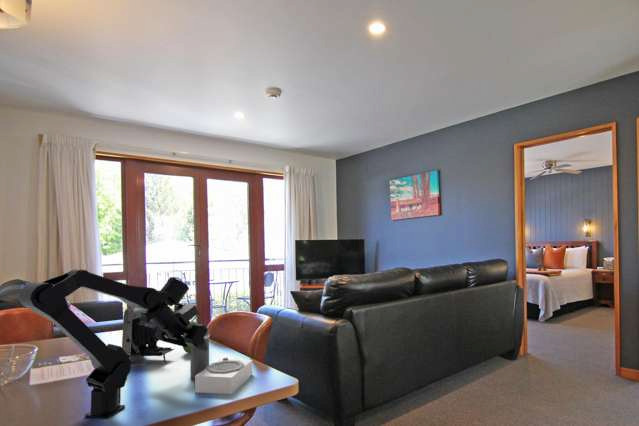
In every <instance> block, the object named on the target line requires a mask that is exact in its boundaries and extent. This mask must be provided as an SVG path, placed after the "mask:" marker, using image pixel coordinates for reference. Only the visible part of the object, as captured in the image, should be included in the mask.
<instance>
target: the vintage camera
mask: <svg viewBox="0 0 639 426" xmlns="http://www.w3.org/2000/svg"><path fill="white" fill-rule="evenodd" d="M146 310H147V309H143V308H135V307H132V306H129V307H127V308H126V309H125V310H124V311H123V320H122V336H121V337H122V338H121V342H122V343H121V347H122V348H123V350H124V351H125V353H126V354H128V355H131V357H129V359H130V360H131V361H132V363H134V362H136V361H137V360H138V361H139V360H140V359H143V358H144V357H163V363H166V354H168V353H171V352H172V351H174V350H175V348H172V347H163V346H159V345H157V344H158V342H160V340H158V339H157V338H156V337H155V332H156V330H157V327H158V326H157V325H156V324H155V323H154V322H153V321H152V320H151V321H150V322H149V323H145V322H141V321H140V318H141V313H142V312H145V311H146Z"/></svg>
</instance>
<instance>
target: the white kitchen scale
mask: <svg viewBox="0 0 639 426" xmlns="http://www.w3.org/2000/svg"><path fill="white" fill-rule="evenodd" d="M253 371H254V370H253V359H239V358H238V359H237V358H236V359H235V358H231V359H230V358H229V357H223V358H220V359H218V360H216V361H215V362H211V364H210V363H209V366H207V367H206V369H204V370H203V371H202V372H200V373H199V374H197V375H196V376H195V380H194V393H198V394H199V393H201V394H216V393H217V394H218V395H219V394H220V395H221V394H222V395H233V394H234V393H235V392H236V391H237V390H238V389H239V388H240V387H241V386H242V385H243V384H244V383H245V382H247V381H248V380H249V379H250V378H251V377H252V376H253V375H252V374H253V373H254V372H253ZM251 375H252V376H251ZM250 376H251V377H250Z"/></svg>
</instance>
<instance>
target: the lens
mask: <svg viewBox="0 0 639 426" xmlns="http://www.w3.org/2000/svg"><path fill="white" fill-rule="evenodd" d="M210 336H211V334H210V330H209V329H208V331H207V333H206V334H205V336H204V339H205V342H206V345H207V347H208V349H207V350H206V351H203V350H200V349H196V348H193V347H191V353H190V380H193V381H195V376H196V375H197V374H199V373H200V372H202V371H203V370H204V369H206V367H207V366H209V365H210Z"/></svg>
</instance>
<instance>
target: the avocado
mask: <svg viewBox="0 0 639 426" xmlns="http://www.w3.org/2000/svg"><path fill="white" fill-rule="evenodd" d="M190 322H191V323H190V324H189V325H188V326H187V327H189V328H192V326H193V325H194V324H198V323H197V322H195V321H190ZM182 336H183V338H184V339H185V335H182ZM182 349H183V350H184V352H186V353H187V354H191V347H189V345H188V346H187V347H183V346H182Z"/></svg>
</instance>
